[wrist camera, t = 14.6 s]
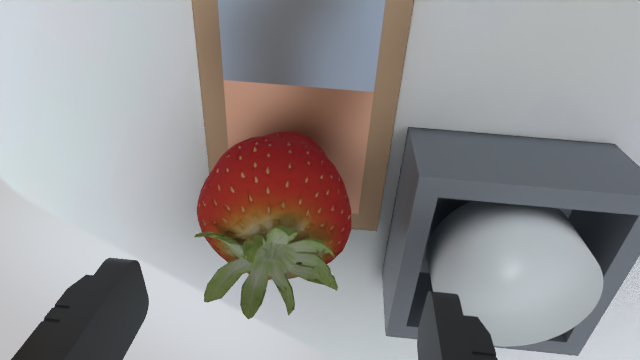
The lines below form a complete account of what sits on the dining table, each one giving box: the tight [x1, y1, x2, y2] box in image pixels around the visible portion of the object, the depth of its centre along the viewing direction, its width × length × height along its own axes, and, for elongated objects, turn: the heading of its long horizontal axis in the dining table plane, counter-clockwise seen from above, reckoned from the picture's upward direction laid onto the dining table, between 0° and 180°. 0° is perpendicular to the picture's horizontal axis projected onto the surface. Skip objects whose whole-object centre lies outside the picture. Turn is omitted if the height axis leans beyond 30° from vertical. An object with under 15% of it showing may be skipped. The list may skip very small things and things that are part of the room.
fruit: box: [195, 132, 352, 319], centre depth 15 cm, size 5×5×8 cm
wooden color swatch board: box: [192, 0, 414, 231], centre depth 15 cm, size 8×20×1 cm, turn 177°
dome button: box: [427, 201, 604, 347], centre depth 17 cm, size 6×6×2 cm
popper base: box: [382, 127, 640, 356], centre depth 19 cm, size 9×9×4 cm
